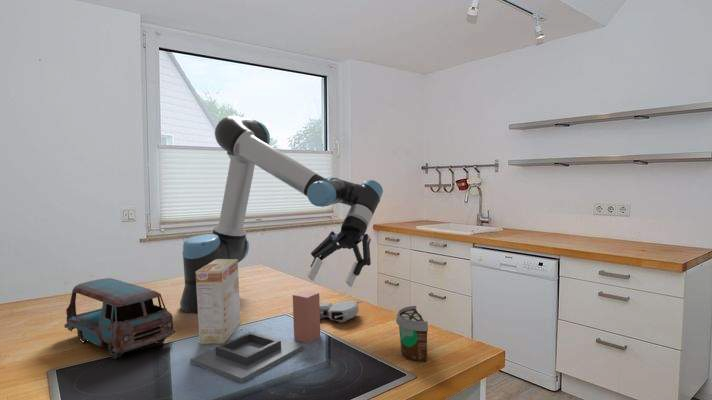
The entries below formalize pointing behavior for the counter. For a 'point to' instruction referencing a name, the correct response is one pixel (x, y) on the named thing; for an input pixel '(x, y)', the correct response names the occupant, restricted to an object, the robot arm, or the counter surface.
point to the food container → (412, 334)
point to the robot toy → (339, 310)
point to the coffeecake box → (218, 300)
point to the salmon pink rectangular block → (306, 316)
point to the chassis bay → (246, 355)
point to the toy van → (120, 316)
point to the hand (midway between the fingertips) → (328, 281)
